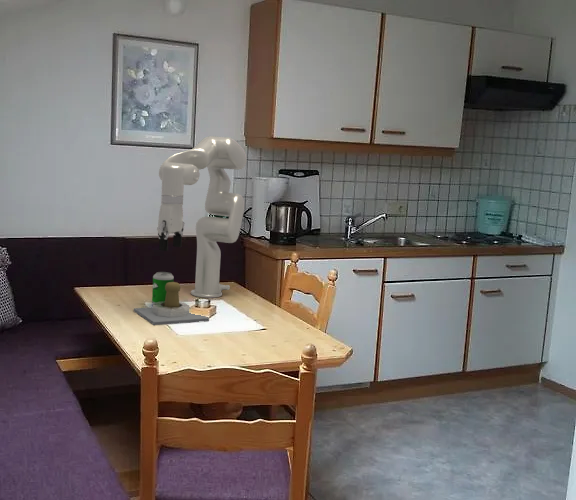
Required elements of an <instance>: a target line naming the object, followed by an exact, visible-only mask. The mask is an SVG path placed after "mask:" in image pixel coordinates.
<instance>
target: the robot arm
mask: <svg viewBox="0 0 576 500" xmlns="http://www.w3.org/2000/svg"><path fill="white" fill-rule="evenodd" d="M247 158H248V157H247V154H246V150H245V149H244V148H243V147H242V146H241V145H240V144H239V142H237V141H236V140H235V139H233V138H232V137H227V136H216V135H215V136H214V135H213V136H211V135H209V136H206V137H204V138H203V139H202V140H200V141H199V142H198V143H197V144H196V145H195V146H193V148H192V149H191V148H190V149H187V150H185V151H181V152H179V153H175V154H172V155H171V156H169V157H167V158H166V159H165V160H164V161H163V162H162V163H161V165H160V167H159V170H158V176H159V179H160V180H161V197H160V198H161V199H160V202H161V203H160V207H159V213H158V223H157V229H156V230H157V235H158V240H159V242H158V245H159V246H158V249H159V251H164V252H167V251H169V239H168V238H169V235H170V234H173V235H172V236H173V237H172V246H173V247H176V248H181V247H183V246H182V245H183V244H182V243H183V241H182V240H183V235H184V233H183V232H184V228H185V224H186V223H185V222H184V212H183V211H184V210H183V209H184V208H183V205H184V186H192V185H195V184H197V182H198V181H199V179H200V175H201V174H200V170H204V169H207V171H208V174H209V175H208V176H209V184H208V189H207V191H206V192H207V193H206V196H205V202H204V210H205V212H206V213H208V214H210V215H212V216H202V217H200V218H198V219H197V221H196V223H195V235H196V262H195V263H196V264H195V278H194V279H195V281H194V282H195V284H194V289H192V290H191V291H190V294H191V295H192V296H194V297H196V298H197V297H198V298H207V299H208V298H219V297H222V296H223V292H222V291H223V290H224V291H227V290H228V291H229V290H230V288H231V286H230V285H229V284H221V283H220V274H221V273H220V270H221V256H222V255H221V253H222V252H221V249H220V247H219V245H218V243H217V242H219V243H225V244H227V243H228V244H233V243H236V242H237V240H238V239H239V235H240V232H241V228H242V227H241V226H242V223H243V218H244V212H245V199H244V196H242V195H241V194H240V193H235V192H230V188H231V185H232V184H231V183H232V182H231V179H230V177H229V175H228V173H227V171H225V170H235V171H236V170H242V169H244V168H245V166H246V164H247V160H248V159H247ZM213 215H214V216H213ZM216 216H222V217H216ZM224 217H228V218H224Z"/></svg>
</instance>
